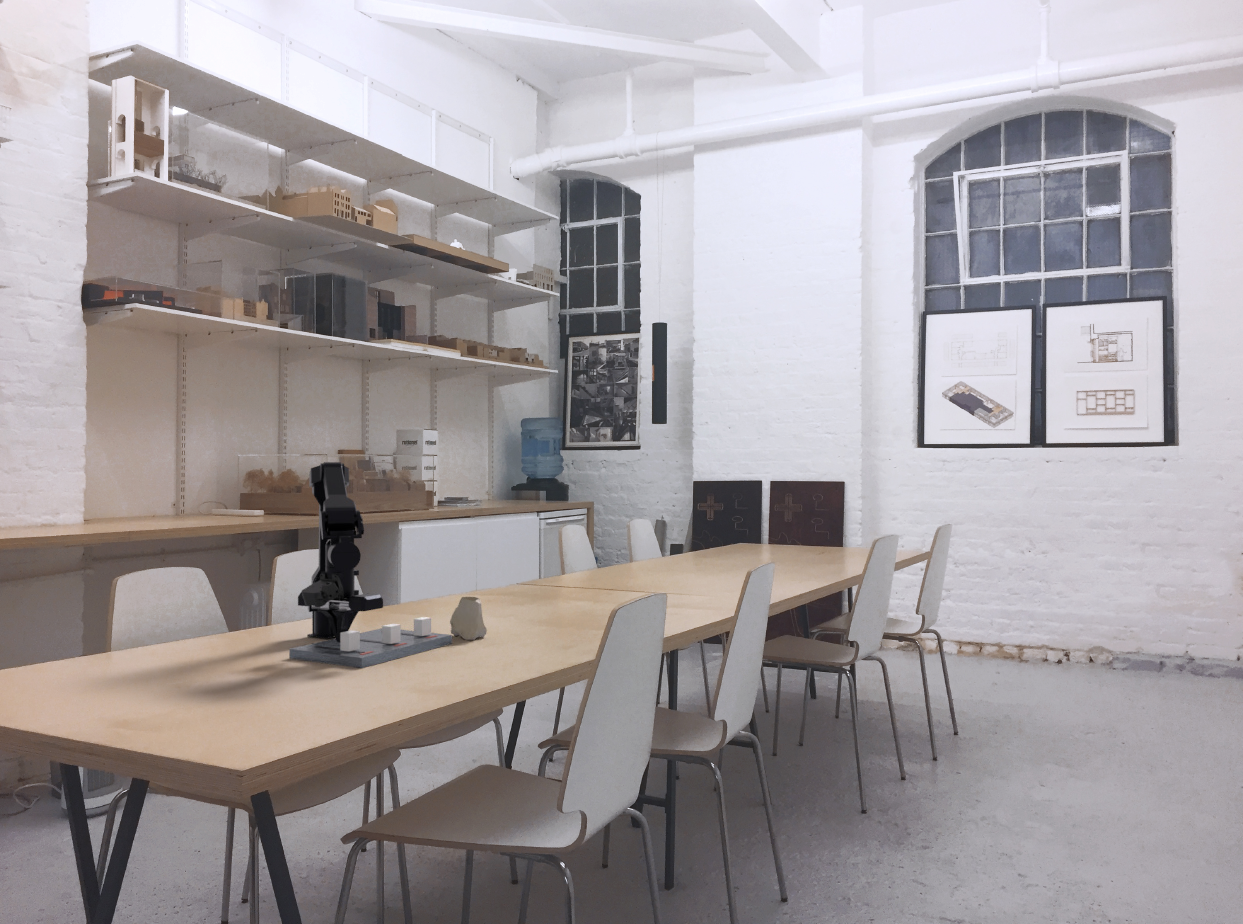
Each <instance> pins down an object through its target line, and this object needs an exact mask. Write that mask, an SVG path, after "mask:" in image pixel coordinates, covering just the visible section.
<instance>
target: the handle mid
mask: <svg viewBox="0 0 1243 924" xmlns="http://www.w3.org/2000/svg"><path fill="white" fill-rule="evenodd" d="M381 628H382V643H387V644H393V643H397V642H401V630H402V629H401V624H399V623H398V624H397V623H390V624H384V625H382V626H381Z"/></svg>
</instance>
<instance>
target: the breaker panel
mask: <svg viewBox="0 0 1243 924" xmlns="http://www.w3.org/2000/svg"><path fill="white" fill-rule="evenodd" d="M452 644H453V634H446V633H437V632H436V633H435V632H431V634H429V635H425V636H416V635H414V630H409V629H407V630H406V629H401V642H397V643H393V644H387V643H382V627H381V628H377V629H372V630H368V631H363V632H360V649H357V650H353V651H341V650H340V643H339V642H337V641H336V638H330V639H327V640H324V641H319V642H315V643H309V644H305V645H300V646H296V647H295V646H294V647H291V648H289V649H288V650H289V651H288V653H289V660H290V659H291V660H297V661H307V662H312V663H313V662H314V663H321V664H329V665H336V666H342V667H343V666H345V667H351V668H357V669H363V668H368V667H370V666H374V665H378V664H382V663H386V662H390V661H393V660H397V659H401V658H403V657H404V658H405V657H408V656H411V655H416V654H420V653H423V652H427V651H431V650H434V649H438V648H442V647H446V646H449V645H452Z"/></svg>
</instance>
